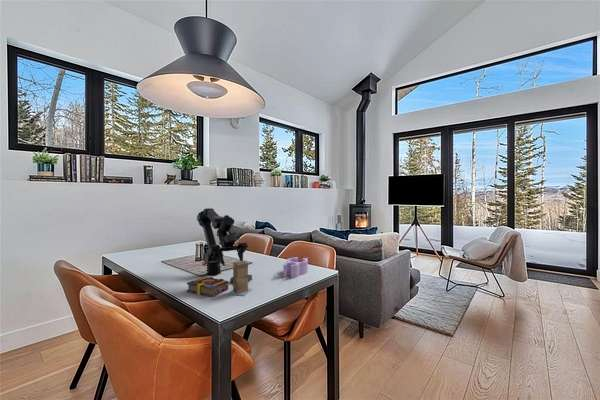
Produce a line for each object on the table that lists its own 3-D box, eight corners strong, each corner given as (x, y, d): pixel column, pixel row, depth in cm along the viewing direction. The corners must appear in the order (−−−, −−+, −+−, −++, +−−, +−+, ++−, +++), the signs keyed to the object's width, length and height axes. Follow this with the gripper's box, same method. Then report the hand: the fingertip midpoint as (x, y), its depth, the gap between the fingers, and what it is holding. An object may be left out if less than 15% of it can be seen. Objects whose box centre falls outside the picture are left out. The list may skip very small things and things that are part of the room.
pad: (228, 294, 122) (228, 292, 122) (237, 288, 129) (237, 287, 129) (244, 295, 120) (244, 294, 119) (252, 289, 127) (252, 288, 127)
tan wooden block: (233, 290, 125) (233, 262, 125) (243, 288, 128) (243, 260, 128) (237, 293, 121) (237, 264, 121) (247, 291, 124) (247, 262, 124)
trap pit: (230, 282, 137) (230, 278, 137) (238, 278, 145) (238, 273, 145) (244, 284, 135) (244, 279, 135) (252, 279, 143) (252, 274, 143)
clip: (298, 279, 144) (299, 266, 144) (277, 276, 149) (277, 264, 149) (311, 269, 163) (311, 258, 163) (292, 267, 167) (292, 256, 167)
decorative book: (205, 285, 134) (205, 275, 134) (230, 290, 127) (230, 279, 127) (186, 292, 124) (186, 281, 124) (213, 298, 117) (213, 287, 117)
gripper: (210, 229, 129) (218, 256, 120) (246, 226, 140) (256, 251, 132) (205, 243, 135) (212, 270, 127) (239, 239, 147) (249, 264, 138)
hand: (233, 263), depth 131 cm, fingers open, 9 cm apart
